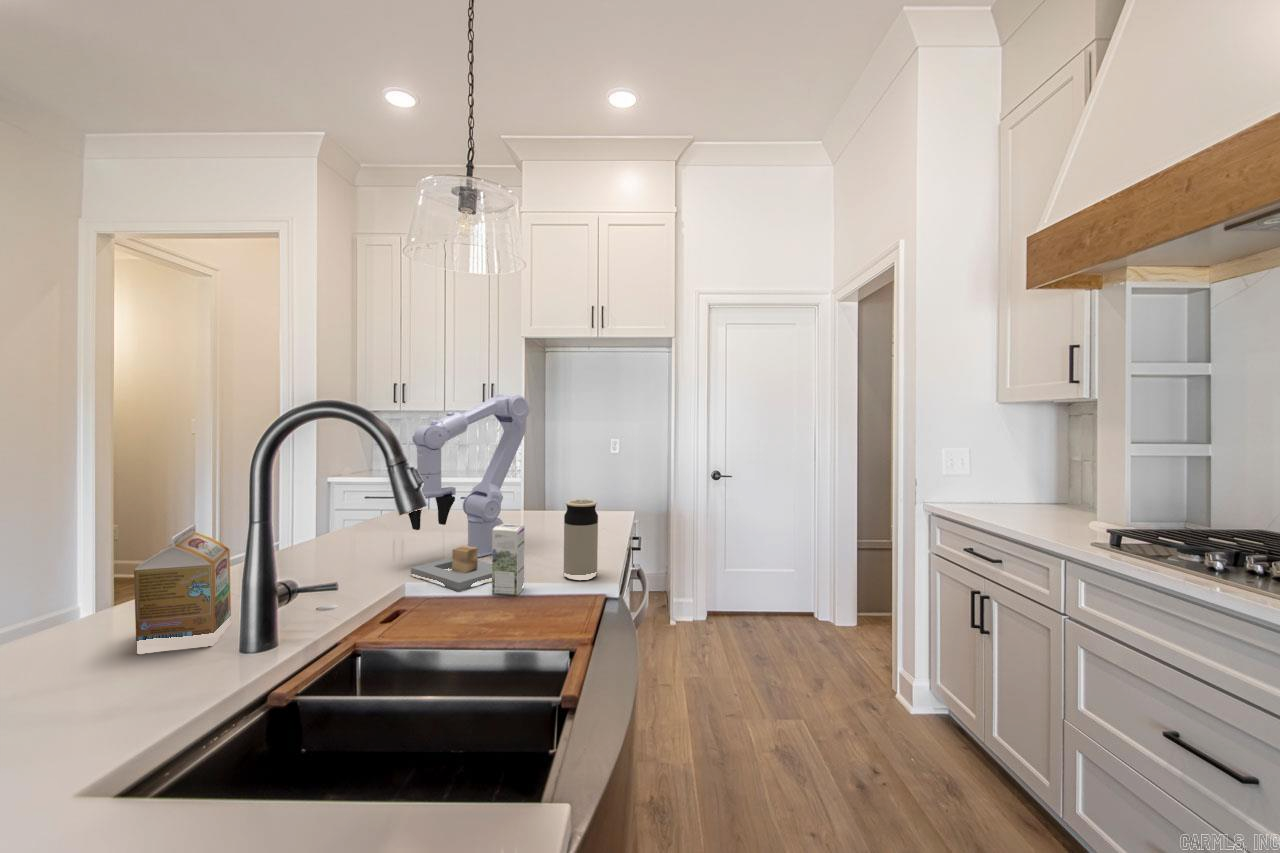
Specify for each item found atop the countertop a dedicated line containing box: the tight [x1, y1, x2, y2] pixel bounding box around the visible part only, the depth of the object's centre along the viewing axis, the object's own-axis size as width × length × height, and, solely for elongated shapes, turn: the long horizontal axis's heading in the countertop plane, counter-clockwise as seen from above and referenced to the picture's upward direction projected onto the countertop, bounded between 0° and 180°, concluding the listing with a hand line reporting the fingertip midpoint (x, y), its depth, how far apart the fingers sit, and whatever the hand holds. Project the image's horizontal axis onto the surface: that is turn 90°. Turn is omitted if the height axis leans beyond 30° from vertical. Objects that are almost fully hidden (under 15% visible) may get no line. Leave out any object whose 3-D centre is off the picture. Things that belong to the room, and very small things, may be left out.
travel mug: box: [563, 498, 599, 575], centre depth 143 cm, size 8×8×18 cm
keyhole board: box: [410, 556, 492, 593], centre depth 142 cm, size 14×18×2 cm
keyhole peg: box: [451, 545, 478, 573], centre depth 141 cm, size 4×4×6 cm
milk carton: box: [133, 524, 232, 642], centre depth 104 cm, size 11×11×19 cm
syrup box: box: [491, 523, 526, 596], centre depth 132 cm, size 6×6×14 cm
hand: (429, 526), depth 152 cm, fingers open, 7 cm apart
